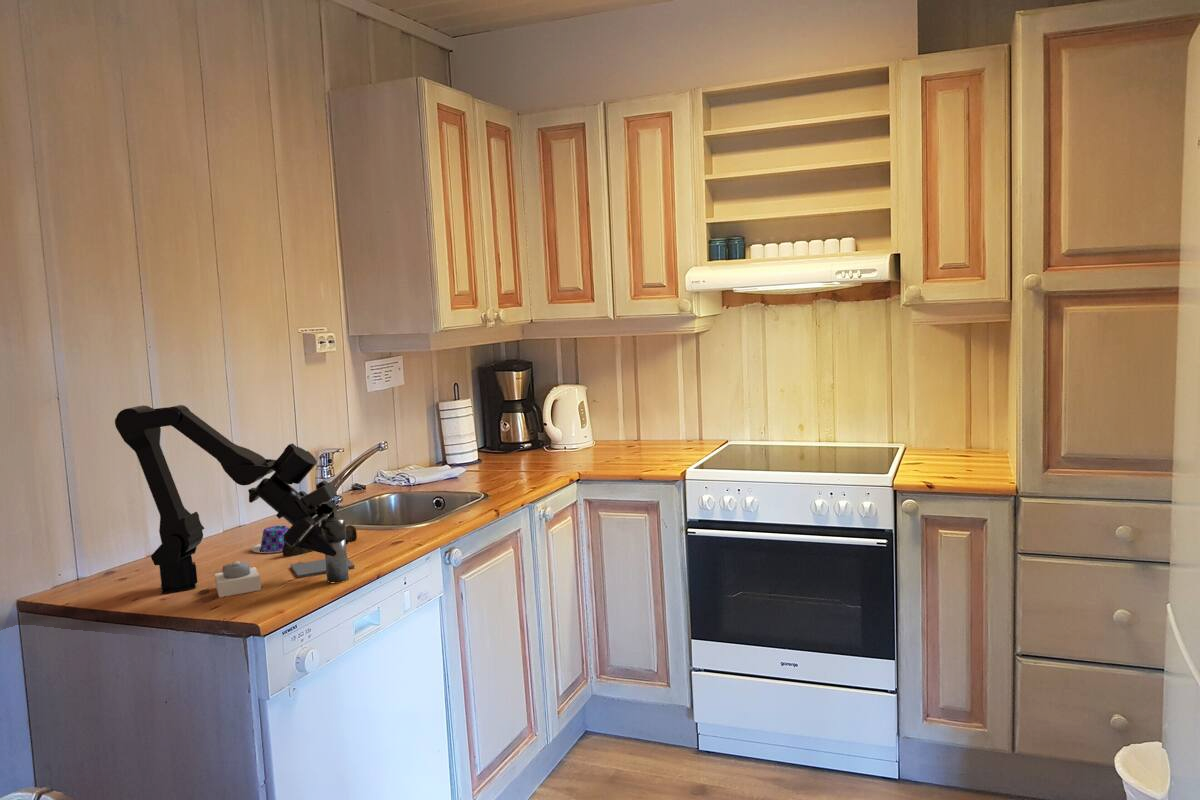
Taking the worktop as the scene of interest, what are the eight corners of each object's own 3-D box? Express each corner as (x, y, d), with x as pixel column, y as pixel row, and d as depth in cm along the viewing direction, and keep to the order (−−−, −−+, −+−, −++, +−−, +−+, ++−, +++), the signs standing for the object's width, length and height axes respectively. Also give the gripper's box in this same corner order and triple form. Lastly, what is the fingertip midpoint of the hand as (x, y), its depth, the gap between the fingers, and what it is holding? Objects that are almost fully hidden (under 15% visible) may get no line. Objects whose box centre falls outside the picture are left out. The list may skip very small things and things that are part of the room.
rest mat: (298, 578, 192) (297, 575, 192) (290, 567, 201) (290, 564, 201) (354, 568, 197) (354, 565, 197) (345, 558, 206) (345, 555, 206)
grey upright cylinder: (328, 585, 186) (323, 523, 184) (324, 579, 190) (319, 519, 189) (352, 580, 188) (347, 520, 187) (347, 575, 192) (342, 516, 191)
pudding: (281, 556, 212) (279, 534, 211) (240, 554, 216) (238, 533, 215) (313, 543, 223) (311, 522, 223) (273, 541, 227) (272, 521, 227)
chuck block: (219, 597, 181) (216, 570, 181) (216, 587, 188) (213, 561, 188) (261, 589, 185) (258, 563, 184) (256, 580, 192) (254, 555, 191)
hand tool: (350, 539, 225) (348, 521, 225) (358, 541, 222) (356, 523, 222) (278, 557, 212) (276, 537, 211) (286, 559, 209) (284, 540, 208)
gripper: (294, 480, 177) (354, 531, 178) (323, 463, 196) (378, 510, 197) (258, 521, 178) (318, 572, 179) (291, 501, 197) (345, 547, 198)
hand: (341, 548), depth 188 cm, fingers open, 9 cm apart
